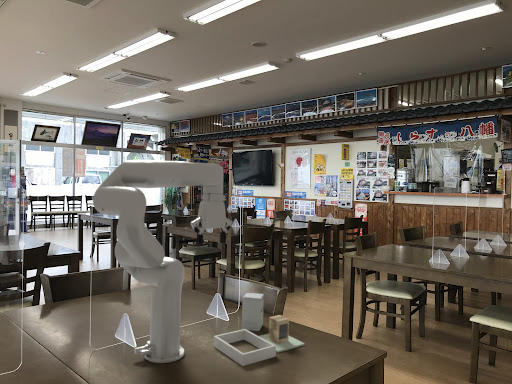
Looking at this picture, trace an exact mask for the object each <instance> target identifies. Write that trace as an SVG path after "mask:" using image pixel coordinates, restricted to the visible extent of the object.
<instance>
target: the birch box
mask: <svg viewBox="0 0 512 384" xmlns="http://www.w3.org/2000/svg"><path fill="white" fill-rule="evenodd" d="M268 319H269V320H268V334H269V340H271V341H272V342H274V343H276V344H280V343H284V342H287V341H288V337H289V336H290V334H289V332H290V331H289V329H290V318H288V317H286V316H283V315H281V314H277V315H273V316H270V317H269V318H268Z"/></svg>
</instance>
